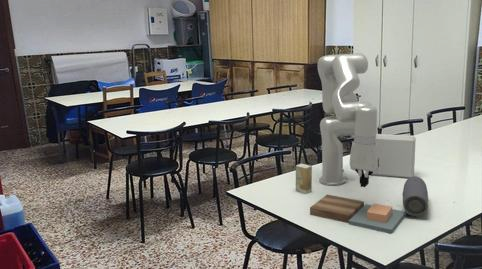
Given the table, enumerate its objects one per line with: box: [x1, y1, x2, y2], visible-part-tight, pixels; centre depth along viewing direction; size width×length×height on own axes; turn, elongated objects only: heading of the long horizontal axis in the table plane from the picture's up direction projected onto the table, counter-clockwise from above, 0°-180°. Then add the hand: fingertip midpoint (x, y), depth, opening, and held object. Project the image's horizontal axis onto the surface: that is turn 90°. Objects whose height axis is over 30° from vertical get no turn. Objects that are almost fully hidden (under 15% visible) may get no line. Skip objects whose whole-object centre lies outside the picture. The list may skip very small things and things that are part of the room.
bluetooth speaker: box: [402, 175, 429, 217], centre depth 169 cm, size 23×9×10 cm, turn 159°
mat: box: [348, 203, 407, 234], centre depth 161 cm, size 18×16×2 cm
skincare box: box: [295, 163, 313, 195], centre depth 193 cm, size 6×4×12 cm
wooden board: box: [309, 194, 365, 224], centre depth 170 cm, size 16×16×3 cm
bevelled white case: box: [370, 133, 417, 179], centre depth 208 cm, size 21×8×20 cm, turn 65°
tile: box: [367, 203, 393, 223], centre depth 160 cm, size 9×7×3 cm
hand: (363, 185), depth 162 cm, fingers closed
